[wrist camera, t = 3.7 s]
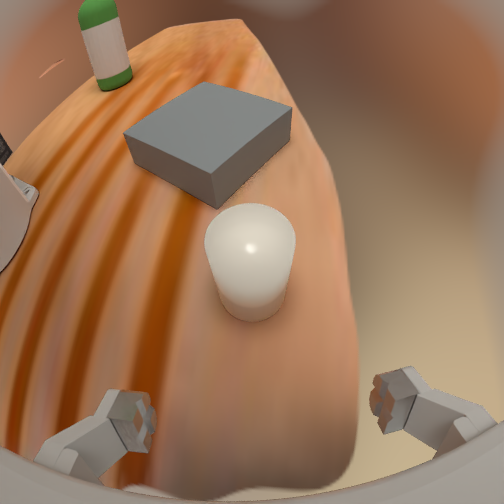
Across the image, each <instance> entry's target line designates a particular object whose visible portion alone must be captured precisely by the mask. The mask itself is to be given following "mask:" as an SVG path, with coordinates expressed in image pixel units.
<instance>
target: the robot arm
mask: <svg viewBox="0 0 504 504" xmlns="http://www.w3.org/2000/svg"><path fill="white" fill-rule="evenodd" d="M38 195H39V191H38V190H37V189H36V188H35V187H33V186H31V185H29V184H27V183H25V182H23V181H21V180H19V179H17V178H15V177H14V176H12V175H10V174H8V173H7V171H6V170H5V169H4V167H3V166H2V165H1V163H0V272H1V271H2V270H3V269H4V267H5V266H6V265H7V264H8V262H9V261H10V260H11V258H12V257H13V255H14V254H15V252H16V251H17V249H18V247H19V245H20V243H21V241H22V239H23V237H24V235H25V232H26V230H27V226H28V223H29V218H30V213H31V209H32V207H33V205H34V203H35V201H36V199H37V197H38ZM373 385H374V386H375V388H374V389H373V390H372V391H371V393H370V398H369V401H370V408H371V411H372V413H373V415H375V416H377V417H379V419H378V425H379V427H380V429H381V431H382V433H383V434H388V433H391V432H395V431H398V430H402V429H404V431H406V432H408V433H409V434H411V435H413V436H414V437H416V438H417V439H419V440H420V441H422V442H424V443H425V444H427V445H428V446H430V447H432V448H433V449H435V450H437V452H436V454H435V456H434V457H433V459H432V460H430V461H427V462H425V463H422V464H420V465H418V466H415V467H412V468H410V469H407V470H405V471H402V472H399V473H396V474H393V475H390V476H387V477H384V478H381V479H377V480H374V481H371V482H367V483H364V484H360V485H356V486H352V487H348V488H344V489H339V490H335V491H330V492H325V493H320V494H314V495H307V496H301V497H293V498H284V499H274V500H261V501H239V502H238V501H237V502H219V501H195V500H182V499H172V498H163V497H157V496H150V495H144V494H138V493H133V492H128V491H123V490H119V489H114V488H110V487H106V486H104V485H103V484H102V483H101V481H100V480H99V479H98V477H100V476H101V475H102V474H103V473H104V472H105V471H107V470H108V469H109V468H110V467H111V466H112V465H113V464H115V463H116V462H117V461H118V460H119V459H120V458H121V457H122V456H124V455H125V454H126V453H127V451H133V452H142V453H149V450H150V447H151V443H152V438H151V436H150V435H151V434H152V433H154V432H155V430H156V426H157V417H156V412H155V410H154V408H153V407H152V406H150V405H149V404H150V401H151V399H150V396H149V394H148V393H146V392H138V391H129V390H118V389H109V390H107V392H106V394H105V396H104V397H103V399H102V401H101V403H100V405H99V407H98V408H97V410H96V412H95V414H94V416H91V415H90V416H88V417H86V418H85V419H83V420H81V421H79V422H78V423H76V424H74V425H72V426H70V427H69V428H67V429H65V430H63V431H61V432H60V433H58V434H56V435H54V436H52V437H50V438H49V439H47V440H45V442H44V444H43V445H42V447H41V449H40V450H39V452H38V454H37V455H36V457H35V459H34V461H31V460H29V459H26V458H24V457H22V456H20V455H18V454H16V453H14V452H12V451H10V450H8V449H6V448H4V447H2V446H0V504H504V421H502V422H500V423H499V424H498V423H496V421H495V420H494V419H493V418H492V417H491V415H490V414H489V413H488V412H487V411H486V409H485V408H484V407H483V406H481V405H478V404H475V403H473V402H470V401H467V400H464V399H461V398H459V397H456V396H453V395H450V394H448V393H445V392H442V391H440V390H437V389H431V388H430V387H429V386H428V384H427V383H426V382H425V381H424V379H423V378H422V377H421V376H420V375H419V373H418V372H417V371H416V370H415V368H414V367H412V366H408V367H404V368H401V369H398V370H394V371H390V372H386V373H382V374H377V375H375V377H374V380H373Z"/></svg>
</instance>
